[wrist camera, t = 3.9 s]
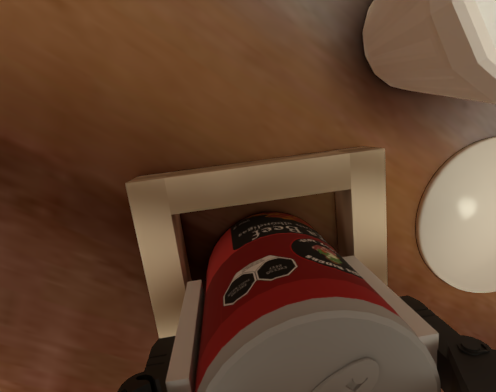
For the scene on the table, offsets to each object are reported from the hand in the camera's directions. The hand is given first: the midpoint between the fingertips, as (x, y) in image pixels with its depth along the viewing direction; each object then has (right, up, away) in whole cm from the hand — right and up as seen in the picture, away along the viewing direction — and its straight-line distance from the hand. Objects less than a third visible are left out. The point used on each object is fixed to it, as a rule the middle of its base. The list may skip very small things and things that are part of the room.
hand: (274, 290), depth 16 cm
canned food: (0, +1, +3) cm, 3 cm away
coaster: (+15, +4, +4) cm, 16 cm away
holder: (0, +1, +3) cm, 3 cm away
